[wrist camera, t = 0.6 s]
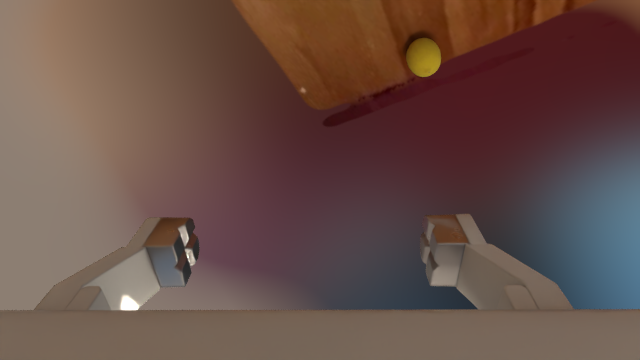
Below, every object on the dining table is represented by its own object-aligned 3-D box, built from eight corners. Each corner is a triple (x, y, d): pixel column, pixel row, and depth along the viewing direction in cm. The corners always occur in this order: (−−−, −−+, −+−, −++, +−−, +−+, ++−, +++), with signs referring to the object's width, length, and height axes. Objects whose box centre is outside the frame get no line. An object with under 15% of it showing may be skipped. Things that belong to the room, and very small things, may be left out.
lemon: (407, 61, 68) (417, 90, 63) (398, 38, 64) (407, 67, 59) (437, 47, 66) (449, 76, 61) (429, 23, 62) (441, 52, 57)
